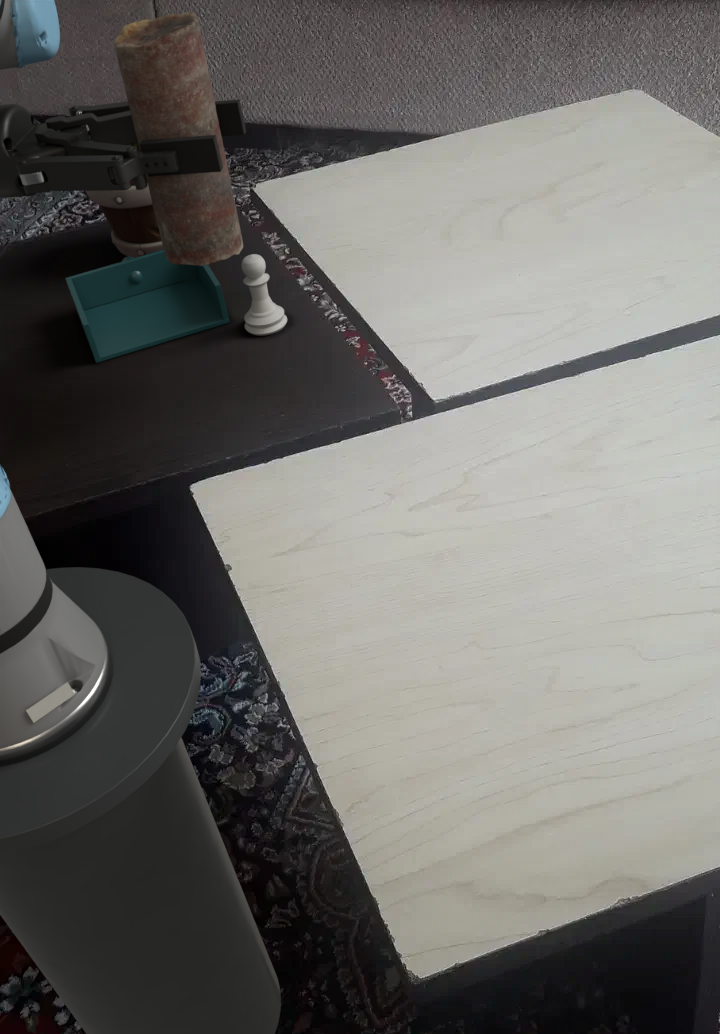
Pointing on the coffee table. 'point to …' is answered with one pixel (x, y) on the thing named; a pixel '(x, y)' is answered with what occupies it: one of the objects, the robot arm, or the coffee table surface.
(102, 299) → the teal tray
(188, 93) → the rusty brown cylinder
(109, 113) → the robot arm
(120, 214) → the flowerpot
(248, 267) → the chess piece
